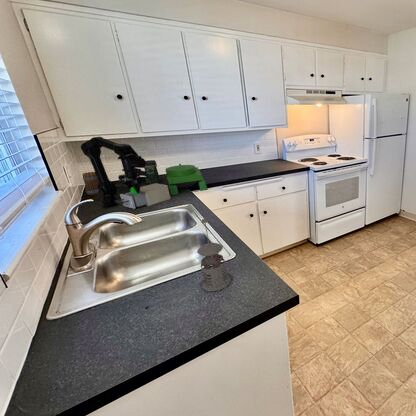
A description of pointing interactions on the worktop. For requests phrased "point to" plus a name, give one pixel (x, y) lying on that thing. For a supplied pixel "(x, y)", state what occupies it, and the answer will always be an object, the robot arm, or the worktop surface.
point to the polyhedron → (133, 191)
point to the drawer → (132, 199)
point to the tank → (184, 177)
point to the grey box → (155, 193)
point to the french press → (214, 276)
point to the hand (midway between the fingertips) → (136, 192)
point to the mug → (91, 183)
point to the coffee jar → (152, 172)
